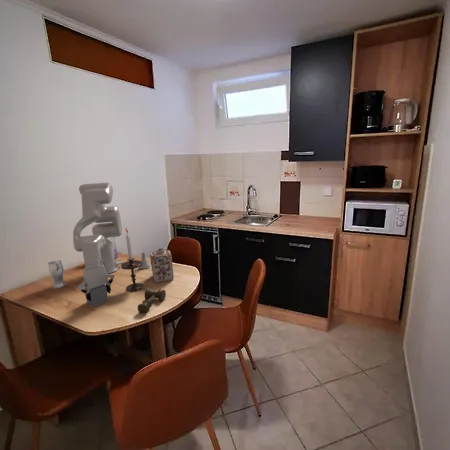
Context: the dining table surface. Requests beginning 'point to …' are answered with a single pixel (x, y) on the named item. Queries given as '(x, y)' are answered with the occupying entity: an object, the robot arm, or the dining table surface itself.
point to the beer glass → (56, 273)
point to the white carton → (113, 246)
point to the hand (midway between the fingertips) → (99, 296)
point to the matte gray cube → (98, 295)
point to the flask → (144, 261)
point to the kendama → (150, 299)
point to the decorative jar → (161, 265)
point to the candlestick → (131, 267)
